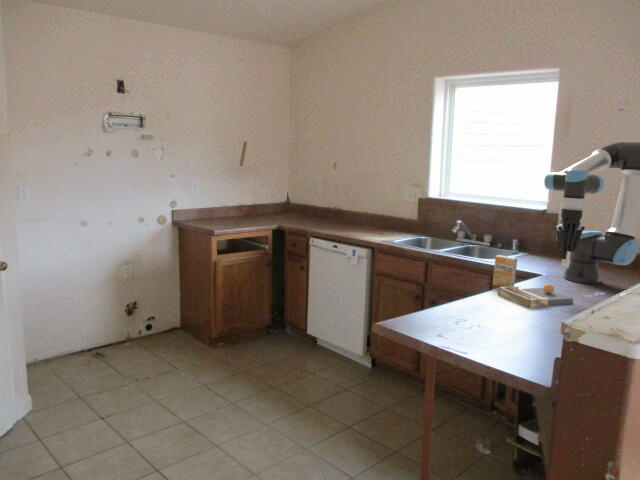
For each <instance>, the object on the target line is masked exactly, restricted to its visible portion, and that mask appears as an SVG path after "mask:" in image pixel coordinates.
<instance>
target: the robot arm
mask: <svg viewBox="0 0 640 480" xmlns="http://www.w3.org/2000/svg"><path fill="white" fill-rule="evenodd" d="M607 169H621V170H620V173H622V175H623V178H622V182H621V185H620V189H619V192H618V193H619V194H618V197H617V201H616V204H615V209H614V213H613V217H612V220H611V223H610V224H611V225H610V228H608V229H607V230H605V232H604V235H603V232H602V231H600V230H585V228H586V227H585V226H584V225H583V226H582V224H581V220H582V217H583V209H584V204H585V195H586V194H587V195H588V194H591V195H594V194H599V193H600V192H601V191H603V189H604V188H605V187H604V186H605V181H604V179H603V177H601V176H600V175H599V174H598V175H597V174H595V173H597V172H599V171H605V170H607ZM543 183H544V187H545V188H546V190H551V191H554V192H556V191H557V192H559V191H560V192H563V199H562V204H561V205H562V209H561V213H560V217H561V221H560V223H559V224H558V225H555V226H554V229H555V232H556V242H557V243H556V244H557V249H558V250H560V251H561V255H560V259H561V263H560V267H562V268H564V269H565V271H564V273H563V278H564V279H565V280H567V281H570V282H574V283H575V282H576V283H580V284H599V283H600V282H601V276H600V271H599V266H598V265H599V262H602V263H610V264H613V265H616V266H617V265H619V266H627V265H630V264H631V263H633V261H634V260H635V259H636V256H637V254H638V252H639V242H638V241H637V240H636V235H635V234H634V232H633V231H634V228H635V223H636V220H637V215H638V211H639V207H640V142H637V141H636V142H635V141H632V142H630V141H629V142H627V141H626V142H624V141H618V142H615V143H610V144H608V145H605V146H603V147H599V148H598V149H596V150H594V151H593V152H591V154H590V156H588V157H586V158H583V159H582V160H580V161H578V162H576V163H574V164H572V165H571V166H569V167H567V168H565V169H563V170H560V171H559V172H556V171H554V172H553V171H551V172H548V173H547V174H546V175H545V177H544V182H543Z"/></svg>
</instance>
